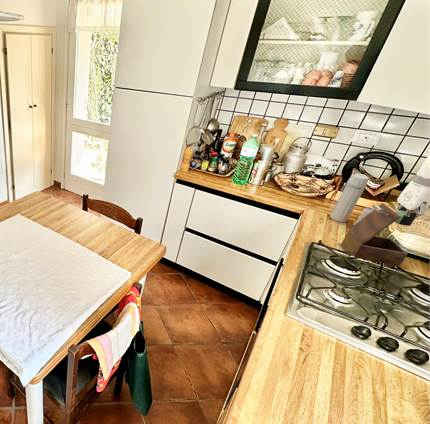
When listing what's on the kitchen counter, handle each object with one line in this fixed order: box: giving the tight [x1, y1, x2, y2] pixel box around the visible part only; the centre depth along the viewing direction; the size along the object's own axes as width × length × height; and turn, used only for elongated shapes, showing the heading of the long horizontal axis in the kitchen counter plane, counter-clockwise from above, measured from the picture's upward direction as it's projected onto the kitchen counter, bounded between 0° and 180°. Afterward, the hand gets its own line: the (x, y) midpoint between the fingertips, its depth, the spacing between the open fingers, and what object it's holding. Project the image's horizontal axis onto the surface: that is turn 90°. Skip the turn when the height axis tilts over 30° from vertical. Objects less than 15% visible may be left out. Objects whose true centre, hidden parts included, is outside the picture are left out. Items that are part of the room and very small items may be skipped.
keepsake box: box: [340, 230, 408, 269], centre depth 135 cm, size 16×13×8 cm
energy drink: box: [354, 207, 374, 225], centre depth 153 cm, size 5×5×12 cm
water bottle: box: [329, 173, 370, 223], centre depth 160 cm, size 9×8×25 cm
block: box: [394, 209, 416, 227], centre depth 125 cm, size 4×4×4 cm
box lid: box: [348, 202, 400, 245], centre depth 130 cm, size 16×13×5 cm
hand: (400, 221), depth 126 cm, fingers closed on block, 4 cm apart
